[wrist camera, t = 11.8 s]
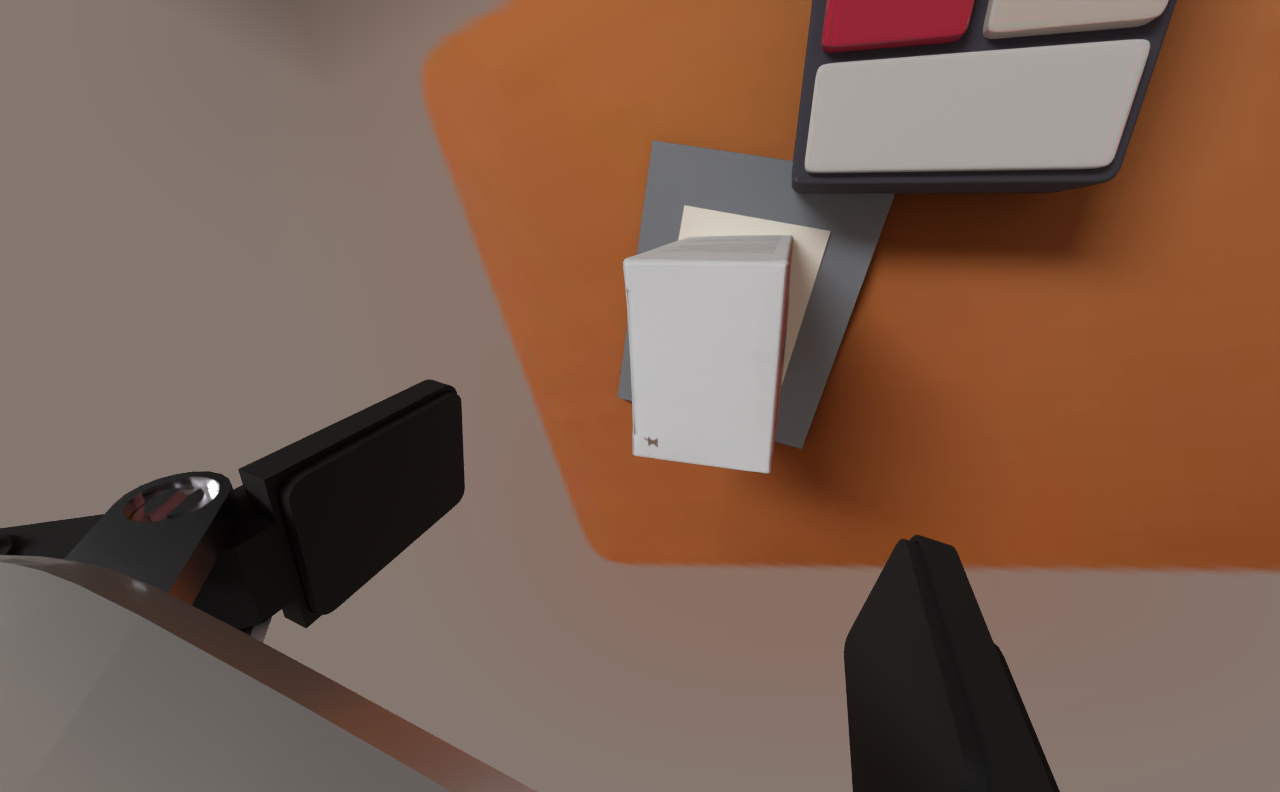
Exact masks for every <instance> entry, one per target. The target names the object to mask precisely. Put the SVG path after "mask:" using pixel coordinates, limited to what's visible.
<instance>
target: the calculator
mask: <svg viewBox="0 0 1280 792" xmlns="http://www.w3.org/2000/svg"><path fill="white" fill-rule="evenodd" d="M1176 1H1177V0H812V9H811V17H810V25H809V33H808V42H807V50H806V58H805V67H804V75H803V83H802V91H801V100H800V108H799V116H798V125H797V133H796V141H795V149H794V158H793V166H792V188H793V190H794V191H795V192H797V193H801V194H857V193H1051V192H1059V191H1064V190H1069V189H1074V188H1080V187H1085V186H1090V185H1095V184H1100V183H1104V182H1107V181H1109V180H1111V179H1112V178H1113V177H1114V176H1115V175H1116V174H1117V173H1118V171H1119V169H1120V167H1121V164H1122V162H1123V159H1124V156H1125V153H1126V150H1127V147H1128V144H1129V141H1130V138H1131V135H1132V132H1133V129H1134V126H1135V123H1136V120H1137V117H1138V114H1139V111H1140V108H1141V105H1142V102H1143V99H1144V96H1145V93H1146V90H1147V87H1148V84H1149V81H1150V78H1151V75H1152V72H1153V69H1154V66H1155V63H1156V60H1157V58H1158V55H1159V52H1160V49H1161V46H1162V43H1163V40H1164V37H1165V34H1166V31H1167V28H1168V25H1169V22H1170V19H1171V16H1172V13H1173V10H1174V7H1175V4H1176Z"/></svg>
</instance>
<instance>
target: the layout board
mask: <svg viewBox="0 0 1280 792" xmlns="http://www.w3.org/2000/svg"><path fill="white" fill-rule="evenodd" d="M792 166H793V161H789V160H782V159H775V158H768V157H762V156H755V155H748V154H741V153H734V152H728V151H721V150H714V149H707V148H700V147H694V146H687V145H680V144H673V143H666V142H660V141H653V142H652V149H651V156H650V164H649V171H648V178H647V186H646V193H645V200H644V208H643V215H642V222H641V230H640V237H639V244H638V252H637V255H638V254H641V253H644V252H647V251H650V250H653V249H655V248H658V247H661V246H664V245H666V244H670V243H673V242H676V241H679V240H682V239H685V238H688V237H699V236H740V235H792V236H793V251H792V262H791V274H790V288H789V306H788V319H787V333H786V344H785V355H784V366H783V376H782V385H781V395H780V404H779V412H778V421H777V430H776V438H775V442H778V443H781V444H785V445H788V446H792V447H796V448H799V449H802V448H803V445H804V442H805V439H806V437H807V434H808V431H809V428H810V426H811V423H812V420H813V417H814V415H815V412H816V409H817V406H818V404H819V401H820V398H821V395H822V393H823V390H824V387H825V385H826V382H827V379H828V376H829V374H830V371H831V368H832V365H833V363H834V360H835V357H836V354H837V352H838V349H839V346H840V343H841V341H842V338H843V335H844V332H845V330H846V327H847V324H848V322H849V319H850V316H851V313H852V311H853V308H854V305H855V302H856V300H857V297H858V294H859V291H860V289H861V286H862V283H863V280H864V278H865V275H866V272H867V269H868V267H869V264H870V261H871V259H872V256H873V253H874V250H875V248H876V245H877V242H878V239H879V237H880V234H881V231H882V228H883V226H884V223H885V220H886V217H887V215H888V212H889V209H890V206H891V204H892V201H893V198H894V196H895V193H857V194H801V193H797V192H795V191H794V190H793V188H792ZM618 398H622V399H625V400H629V401H632V387H631V366H630V347H629V330H628V325H627V332H626V340H625V347H624V354H623V362H622V369H621V376H620V384H619V391H618Z"/></svg>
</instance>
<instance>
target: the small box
mask: <svg viewBox="0 0 1280 792" xmlns="http://www.w3.org/2000/svg"><path fill="white" fill-rule="evenodd" d="M792 251H793V236H792V235H740V236H699V237H688V238H685V239H682V240H679V241H676V242H673V243H670V244H666V245H664V246H661V247H658V248H655V249H653V250H650V251H647V252H644V253H641V254H638V255H635V256H632V257H629V258H626V259H625V260H624V261H623V269H624V278H625V288H626V299H627V312H628V330H629V347H630V366H631V387H632V411H633V455H635V456H642V457H649V458H656V459H662V460H670V461H677V462H685V463H692V464H699V465H707V466H714V467H721V468H729V469H736V470H744V471H752V472H761V473H770V472H771V471H772V462H773V454H774V446H775V438H776V430H777V421H778V412H779V404H780V395H781V385H782V376H783V366H784V355H785V344H786V333H787V319H788V306H789V288H790V274H791V262H792Z"/></svg>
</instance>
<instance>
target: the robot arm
mask: <svg viewBox="0 0 1280 792" xmlns="http://www.w3.org/2000/svg"><path fill="white" fill-rule="evenodd" d="M461 408H462V407H461V398H460V397H459V396H458V395H457V392H456V390H455V388H454V387H452V386H450V385H447V384H443V383H440V382H437V381H434V380H425V381H423V382H420V383H419V384H416V385H414V386H412V387H410V388H408V389H406V390H404V391H402V392H400V393H398V394H395V395H393V396H391V397H389V398H387V399H385V400H383V401H381V402H379V403H377V404H374V405H372V406H370V407H368V408H366V409H364V410H362V411H360V412H358V413H355V414H353V415H351V416H349V417H347V418H345V419H343V420H341V421H339V422H337V423H334V424H332V425H330V426H328V427H326V428H324V429H322V430H320V431H318V432H316V433H313V434H311V435H309V436H307V437H305V438H303V439H301V440H299V441H297V442H295V443H293V444H290V445H288V446H286V447H284V448H282V449H280V450H278V451H276V452H274V453H271V454H269V455H267V456H265V457H264V458H261V459H259V460H257V461H255V462H253V463H251V464H248V465H246V466H244V467H242V468H240V469H239V473H240V476H241V480H242V483H243V485H242V486H240V487H238V488H236V489H234V490H233V488H232V485H231V482H230V480H229V478H227V477H225V476H224V475H222V474H219V473H214V472H209V471H208V472H207V471H206V472H205V471H204V472H187V473H181V474H175V475H171V476H167V477H163V478H160V479H156V480H154V481H151V482H149V483H146V484H144V485H141V486H139V487H138V488H136V489H134V490H132V491H130V492H128V493H127V494H125V495H124V496H123V497H121V498H120V499H119V500H118V501H117V502H115V503H114V504H113V505H112V506H111V508H110V509H109V510H108V511H107V512H106V513H105V514H103V515H95V516H88V517H81V518H74V519H67V520H59V521H51V522H45V523H37V524H31V525H23V526H16V527H8V528H0V792H536V791H534V790H533V789H531V788H529V787H527V786H525V785H524V784H522V783H520V782H518V781H516V780H515V779H513V778H511V777H509V776H507V775H505V774H504V773H502V772H500V771H498V770H496V769H494V768H493V767H491V766H489V765H487V764H485V763H483V762H482V761H480V760H478V759H476V758H474V757H472V756H471V755H468V754H467V753H465V752H463V751H462V750H460V749H458V748H456V747H454V746H452V745H450V744H449V743H447V742H445V741H443V740H441V739H440V738H438V737H436V736H434V735H432V734H430V733H429V732H426V731H425V730H423V729H421V728H419V727H418V726H416V725H414V724H412V723H410V722H408V721H407V720H405V719H403V718H401V717H399V716H397V715H396V714H394V713H392V712H390V711H388V710H386V709H384V708H382V707H381V706H379V705H377V704H375V703H374V702H372V701H370V700H368V699H366V698H364V697H363V696H361V695H358V694H357V693H355V692H353V691H351V690H349V689H348V688H346V687H344V686H342V685H340V684H339V683H337V682H335V681H333V680H331V679H329V678H327V677H326V676H324V675H322V674H320V673H318V672H316V671H314V670H313V669H310V668H309V667H307V666H305V665H303V664H301V663H299V662H298V661H296V660H294V659H292V658H290V657H288V656H286V655H284V654H283V653H281V652H279V651H277V650H275V649H273V648H271V647H270V646H268V645H266V644H264V643H263V641H264V638H265V635H266V632H267V629H268V626H269V624H270V621H271V618H272V616H273V615H274V614H276V613H277V612H278V611H279V610H281V609H282V610H283V613H284V616H285V617H286V618H287V619H289V620H291V621H293V622H295V623H297V624H299V625H301V626H303V627H305V628H307V627H309V625H311V624H312V623H313V622H314V621H315V620H317V619H318V618H319V617H320V616H321V615H325V614H329V613H331V612H332V611H334V610H335V609H336V608H337V607H339V606H340V605H341V604H342V603H343V602H345V601H346V600H347V599H348V598H349V597H350V596H351V595H353V594H354V593H355V592H356V591H357V590H358V589H360V588H361V587H362V586H363V585H364V584H365V583H367V582H368V581H369V580H370V579H371V578H372V577H373V576H375V575H376V574H377V573H378V572H379V571H380V570H382V569H383V568H384V567H385V566H386V565H387V564H389V562H391V561H392V560H393V559H394V558H395V557H397V556H398V555H399V554H400V553H401V552H402V551H403V550H405V549H406V548H407V547H408V546H409V545H410V544H412V543H413V542H414V541H415V540H416V539H417V538H419V537H420V536H421V535H422V534H423V533H424V532H425V531H427V530H428V529H429V528H430V527H431V526H432V525H434V523H436V522H437V521H438V520H439V519H440V518H442V517H443V516H444V515H445V514H446V513H447V512H449V511H450V510H451V509H452V508H453V507H454V506H455V505H457V504H458V503H459V501H460V500H461V498H462V496H463V494H464V489H465V484H464V459H463V435H462V409H461ZM844 662H845V676H846V693H847V708H848V723H849V737H850V753H851V768H852V784H853V792H1060V791H1059V789H1058V786H1057V784H1056V781H1055V779H1054V777H1053V774H1052V772H1051V769H1050V767H1049V765H1048V762H1047V760H1046V757H1045V755H1044V752H1043V750H1042V748H1041V745H1040V743H1039V740H1038V738H1037V735H1036V733H1035V731H1034V728H1033V726H1032V723H1031V721H1030V719H1029V716H1028V714H1027V711H1026V709H1025V706H1024V704H1023V702H1022V699H1021V697H1020V694H1019V692H1018V689H1017V687H1016V684H1015V682H1014V680H1013V677H1012V675H1011V672H1010V670H1009V668H1008V665H1007V663H1006V660H1005V658H1004V656H1003V654H1002V652H1001V651H1000V649H999V647H998V646H997V645H995V644H994V643H993V640H992V638H991V635H990V633H989V630H988V628H987V625H986V623H985V621H984V618H983V616H982V613H981V610H980V608H979V605H978V603H977V600H976V598H975V596H974V593H973V590H972V588H971V586H970V583H969V581H968V578H967V576H966V573H965V571H964V568H963V566H962V563H961V561H960V558H959V556H958V553H957V551H956V549H955V548H954V547H953V546H951V545H948V544H945V543H942V542H939V541H935V540H932V539H929V538H926V537H923V536H920V535H915V536H913V537H912V538H911V539H910V541H909V540H906V539H901V540H899V541H898V543H897V544H896V546H895V548H894V550H893V552H892V554H891V555H890V557H889V559H888V561H887V563H886V565H885V567H884V568H883V570H882V572H881V574H880V576H879V578H878V580H877V582H876V583H875V585H874V587H873V589H872V591H871V593H870V594H869V596H868V598H867V600H866V602H865V604H864V606H863V608H862V609H861V611H860V613H859V615H858V617H857V619H856V620H855V622H854V624H853V626H852V628H851V630H850V632H849V634H848V636H847V638H846V642H845V648H844Z"/></svg>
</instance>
